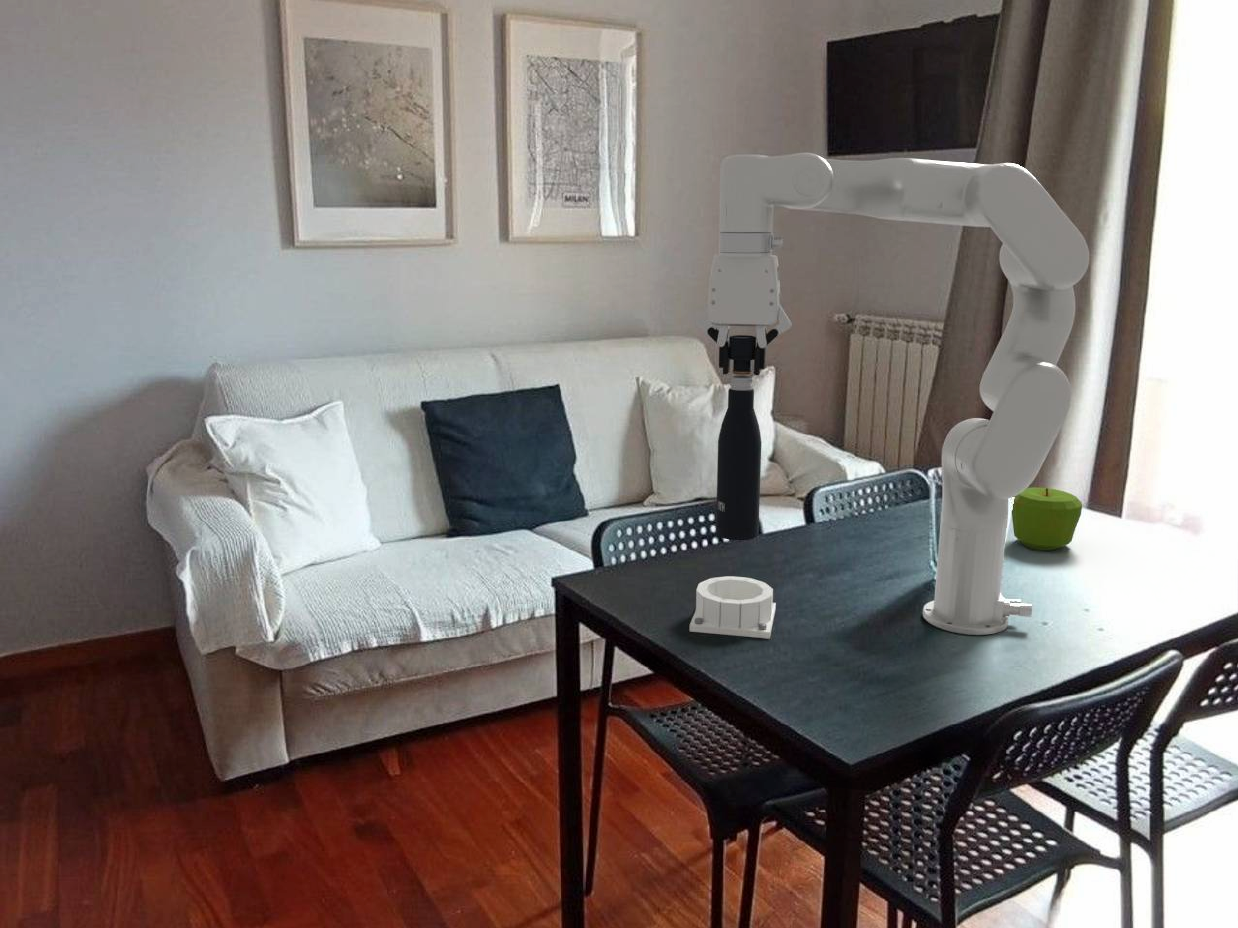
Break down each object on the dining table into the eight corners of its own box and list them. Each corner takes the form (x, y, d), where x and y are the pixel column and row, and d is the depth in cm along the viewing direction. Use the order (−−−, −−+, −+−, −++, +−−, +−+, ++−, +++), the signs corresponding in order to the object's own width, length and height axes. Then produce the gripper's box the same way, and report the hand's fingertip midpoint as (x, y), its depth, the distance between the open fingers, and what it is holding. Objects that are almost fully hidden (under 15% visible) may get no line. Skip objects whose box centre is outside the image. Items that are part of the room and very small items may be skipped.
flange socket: (775, 608, 164) (776, 579, 163) (769, 638, 153) (770, 607, 152) (700, 602, 167) (701, 573, 166) (689, 631, 155) (690, 600, 154)
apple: (1088, 556, 190) (1095, 497, 187) (1021, 555, 190) (1027, 496, 187) (1060, 535, 202) (1066, 479, 199) (998, 534, 202) (1003, 479, 199)
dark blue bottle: (763, 530, 158) (770, 335, 151) (750, 542, 152) (757, 340, 145) (724, 525, 161) (728, 333, 153) (709, 537, 155) (714, 338, 148)
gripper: (806, 245, 148) (800, 371, 152) (691, 244, 151) (689, 368, 156) (803, 247, 141) (798, 379, 145) (682, 246, 144) (681, 375, 149)
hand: (741, 372), depth 150 cm, fingers closed on dark blue bottle, 3 cm apart
